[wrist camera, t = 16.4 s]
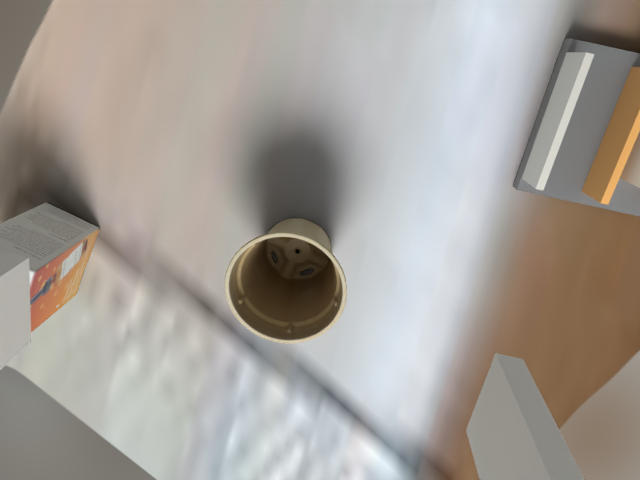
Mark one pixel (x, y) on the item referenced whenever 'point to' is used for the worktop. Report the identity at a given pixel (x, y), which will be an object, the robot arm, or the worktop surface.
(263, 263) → the flower pot
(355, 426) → the worktop surface
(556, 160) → the rack
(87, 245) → the small box
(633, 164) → the panel
